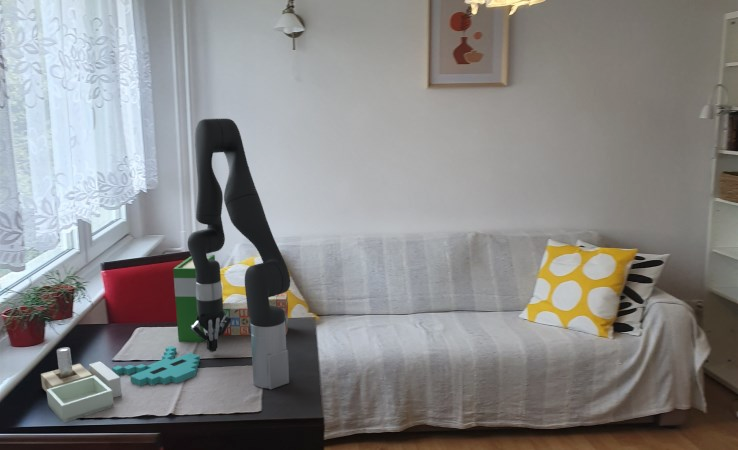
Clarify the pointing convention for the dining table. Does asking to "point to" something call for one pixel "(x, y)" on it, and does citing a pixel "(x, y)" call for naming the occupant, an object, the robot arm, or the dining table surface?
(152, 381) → the alien figure
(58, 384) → the socket block
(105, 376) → the bar
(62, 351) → the steel dowel
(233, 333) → the stack of blocks
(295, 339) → the dining table surface
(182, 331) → the hardback book
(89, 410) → the tray
